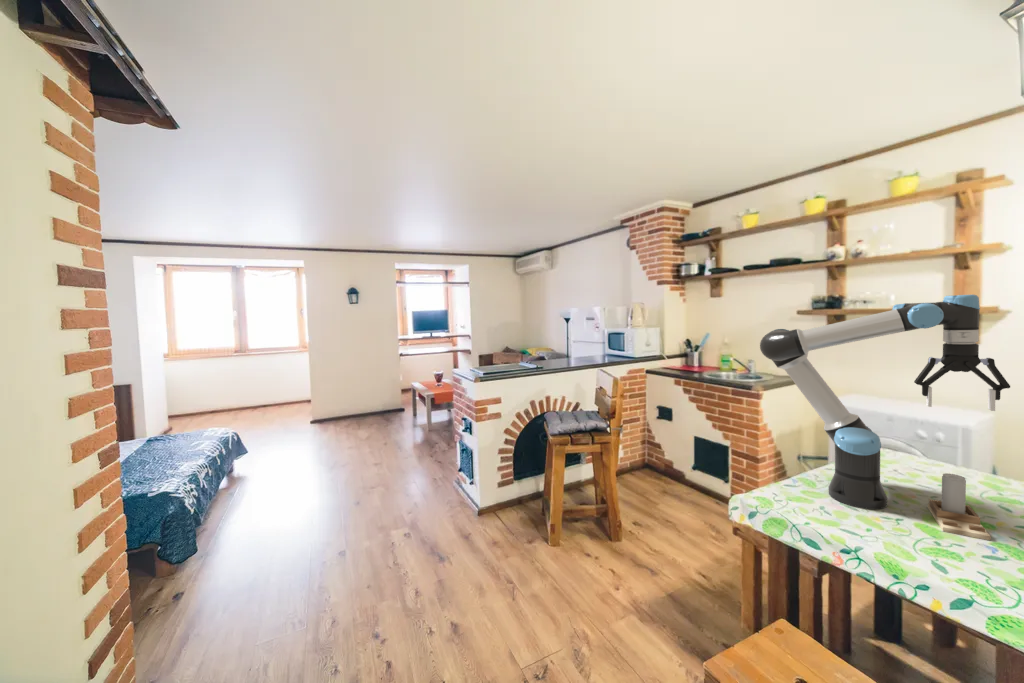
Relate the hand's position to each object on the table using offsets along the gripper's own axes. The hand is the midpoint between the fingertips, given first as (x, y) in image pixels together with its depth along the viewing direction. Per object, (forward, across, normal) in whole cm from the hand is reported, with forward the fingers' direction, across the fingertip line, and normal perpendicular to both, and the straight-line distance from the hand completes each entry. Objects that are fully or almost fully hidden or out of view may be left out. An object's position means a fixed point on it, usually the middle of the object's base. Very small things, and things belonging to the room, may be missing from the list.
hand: (959, 407), depth 125 cm
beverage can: (+31, -4, -14) cm, 34 cm away
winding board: (+32, -4, -17) cm, 36 cm away
